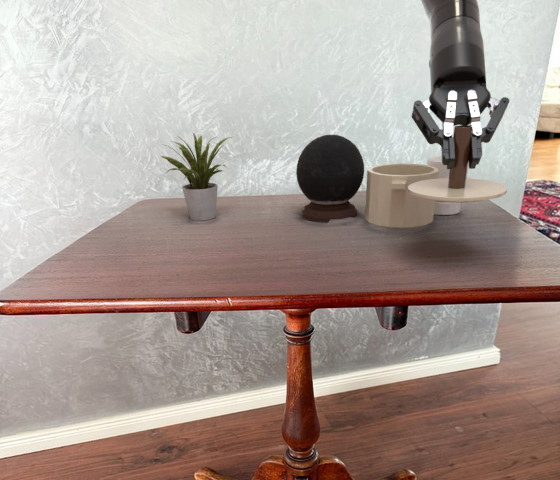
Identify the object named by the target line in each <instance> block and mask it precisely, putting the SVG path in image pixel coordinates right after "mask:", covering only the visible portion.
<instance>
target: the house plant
mask: <svg viewBox="0 0 560 480" xmlns="http://www.w3.org/2000/svg"><path fill="white" fill-rule="evenodd" d="M192 136H193V139H194V150H195V151H194V152H195V154H194V152H193V150H192V148H191V146H190V145H189V144H188V143H187V142H186V141H185V140H184V139H183V138H181V137H180V136H178V138H179V139H180V140H181V141H182V142H184V144H185V145H184V144H182V143H181V142H177V141H174V140H170V142H171V143H175V144H176V147H177V148H178V149H179V150H181V154H180V153H179V152H177V151H176V150H175V149H174V148H173V147H171V146H169V145H166V144H161V145H162V146H163V145H164V146H166V147H168V148H170V149H171V150H173V151H174V152H175V153H177V155H179V157H181V159H182V160H183V161H184V162H185V164H186V165H187V166H188V167H187V166H186V165H185V164H184V163H182V162H180V161H179V160H177V159H175V158H172V157H170V156H166V155H160V157H161V158H162V159H164V160H166V161H167V162H168V163H170V164H171V165H172V166H174V168H170V169H168V170H167V171H166V173H168V172H170V171H171V172H173V171H179V172H180V173H181V174H182V175H183V176H184V179H187V182H188V183H189V184H188V183H187V184H184V185H183V186H182V188H181V189H182V193H183V197H184V200H185V203H186V207H187V211H188V214H189V218H190V220H191V221H197V222H199V221H200V222H201V221H203V222H204V221H210V220H213V219H216V216H217V203H218V184H217V183H215V182H210V180H211V178H212V177H213V176H214V175H216V174H218V173H221V172H225V173H226V171H225V170H222V169H219V167H222V166H223V167H226V165H225V164H214V165H213V166H212V167H211V164H212V163H213V160H214V158H215V157H216V155H218V153H219V152H220V149H221V148H222V147H223V144H224V142H226V141H227V140H230V139H232V138H233V136H230V137H229V136H228V137H225V138H223V139H221V140H220V141H218V142H217V143H216V144H215V146H214V147H213V149H212V150H211V153H210V154H209V150H210V145H211V143H210V142H211V141H212V140H214V139H217V138H218V136H216V137H212V138H211V139H210V140H209V141H208V142H207V143H206V146H205V149H204V150H203V149H202V148H203V136H202V135H200V136H198V138H197V136H196V134H195V132H192ZM177 145H178V146H177ZM186 146H187V147H186ZM202 150H203V151H202ZM185 159H186V160H185Z"/></svg>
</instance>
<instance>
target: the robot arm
mask: <svg viewBox="0 0 560 480" xmlns="http://www.w3.org/2000/svg"><path fill="white" fill-rule="evenodd" d="M420 2H421V4H422V7H423V9H424V12H425V15H426V17H427V19H428V21H429V30H430V31H429V32H430V33H429V34H430V47H429V60H428V61H429V62H428V66H429V73H430V95H429V97H428V99H427V100H424V101H421V100H418V99H417V100H415V101H414V102H413V105H412V106H413V107H412V112H411V119H412V120H413V122H414V123H415V125H416V126H417V128H418V129H419V131H420V132H421V134H422V136H423V137H424V139H425V140H426V142H427V143H428V144H429V145H435V144H437V145H439V146H440V147H441V148H440V149H441V150H440V151H441V156H442V163H443V165H447V169H453V166H454V163H455V145H454V137H453V135H454V127H455V126H462V125H467V126H473V129H472V137H471V145H470V153H469V169H468V170H472V169H473V170H474V169H476V167H477V166H478V165H479V164H480V162H481V159H482V157H483V146H482V145H483V143H484V144H489V143H490V141H492V138H493V136H494V135H495V132H496V130H497V129H498V127H499V125H500V123H501V121H502V119H503V117H504V116H505V113H506V111H507V109H508V106H509V104H510V98H509V97H506V96H503V97H502V98H500V99H497V98H494V97H492V96H491V95H492V94H491V92H490V91H489V89H488V88H487V75H486V73H487V72H486V61H485V60H486V59H485V49H484V48H485V47H484V46H485V45H484V39H483V34H482V29H481V17H480V6H479V3H478V0H420ZM486 108H488V115H489V117H490V119H489V121H488V122H487V125H486V126H484V127H482V124H481V115H482V114H483V112H484V111H485V110H486ZM431 112H432V113H433V114H434V116H436V117H437V119H438V120H439V121H440V122H441V128H440V127H439V126H438V124H437V123H436V121H435V120H434V118H433V116H432V115H431Z"/></svg>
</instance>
